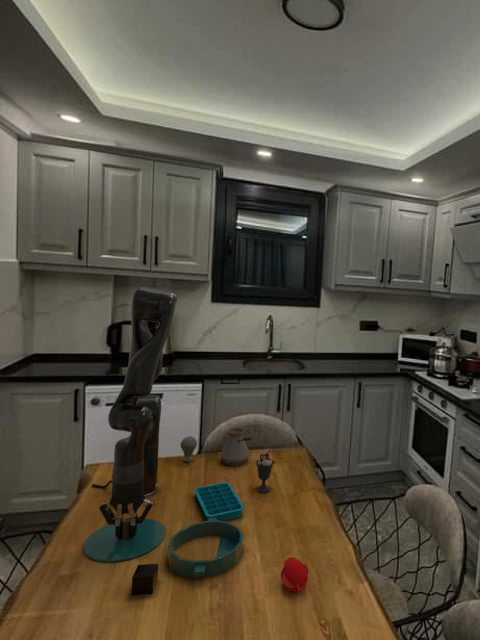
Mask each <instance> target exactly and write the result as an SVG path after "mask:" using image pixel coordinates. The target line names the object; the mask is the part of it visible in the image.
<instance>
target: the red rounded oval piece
mask: <svg viewBox="0 0 480 640" xmlns="http://www.w3.org/2000/svg"><path fill="white" fill-rule="evenodd" d="M280 580H281V582H282V583H283V585H284V586H285V589H286V590H288V591H290V592H293V593H297V592H299V591H301V590H302V589H303V588H304V587H305V586H306V585H307V583H308V580H309V568H308V566H307V564H305V563H303V562H302V561H301V560H300V559H298V558H297V557H294V556H293V557H292V556H291V557H287V558H286V559H285V561H284V563H283V567H282V569H281V571H280Z"/></svg>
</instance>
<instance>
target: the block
mask: <svg viewBox="0 0 480 640" xmlns="http://www.w3.org/2000/svg"><path fill="white" fill-rule="evenodd" d="M158 580H159V563H146V564H138V565H137V566H136V568H135V571H134V573H133V575H132V577H131V592H130V593H131V596H144V595H146V596H147V595H154V592H155V589H156V586H157V584H158V582H159V581H158Z"/></svg>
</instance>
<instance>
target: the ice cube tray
mask: <svg viewBox="0 0 480 640" xmlns="http://www.w3.org/2000/svg"><path fill="white" fill-rule="evenodd" d="M193 491H194V494H195V496H196V499H197V501H198V503H199V505H200V508H201V510H202V512H203V514H204V516H205V518H206V521H208V520H209V518H217V520H219V521H227V520H232V519H235V518H236V519H237V518H240V517H241V516H242V511H244V510H245V505H244V503H243V502H242V501H241V499H240V497H239V496H238V494H237V492H236V490H234V487H233V486H232V485H231V483H230V482H228V481H224V482H219V483H213V484H207V485H203V486H197V487H194V489H193Z"/></svg>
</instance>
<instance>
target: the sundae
mask: <svg viewBox="0 0 480 640" xmlns="http://www.w3.org/2000/svg"><path fill="white" fill-rule="evenodd" d="M270 452H271V450H270V449H269V450H268V451H267V452H266V453H264V454H263V453H260V456H259V459H257V460H255V465H256V467H257V475H258V478H259V480H260V481H261V485H259V486H257V487H256V488H255V490H256V492H258V493H263V494H264V493H268V492H270V491H271V487H270V486H269V485H266V481H267V480H268V479H269V478H270V477H271V473H272V469H273V467H274V464H276V462H275V460H273V459H272V458H271V455H270Z"/></svg>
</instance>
